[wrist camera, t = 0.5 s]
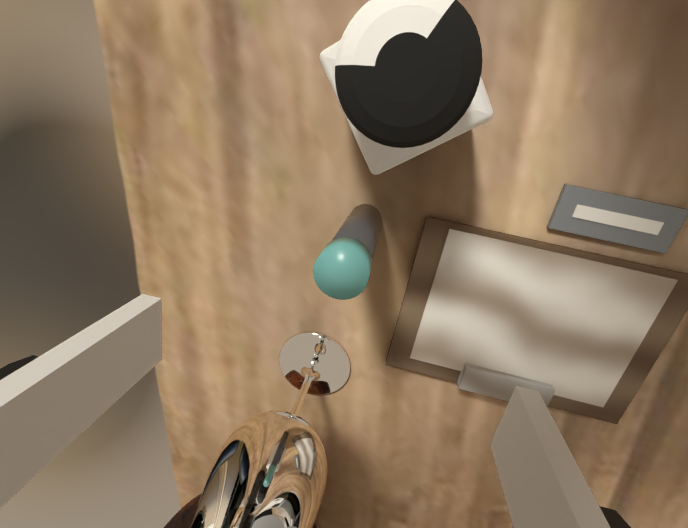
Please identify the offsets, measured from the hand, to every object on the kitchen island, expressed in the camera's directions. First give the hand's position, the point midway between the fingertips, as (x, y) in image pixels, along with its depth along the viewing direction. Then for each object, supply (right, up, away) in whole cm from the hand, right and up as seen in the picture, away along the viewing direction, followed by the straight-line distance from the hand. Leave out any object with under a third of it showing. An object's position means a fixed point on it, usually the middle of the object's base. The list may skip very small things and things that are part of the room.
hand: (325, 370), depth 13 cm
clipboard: (+17, -1, +19) cm, 25 cm away
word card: (+22, +7, +15) cm, 27 cm away
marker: (+3, +8, +18) cm, 20 cm away
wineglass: (-2, -6, +24) cm, 25 cm away
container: (+5, +17, +14) cm, 23 cm away
